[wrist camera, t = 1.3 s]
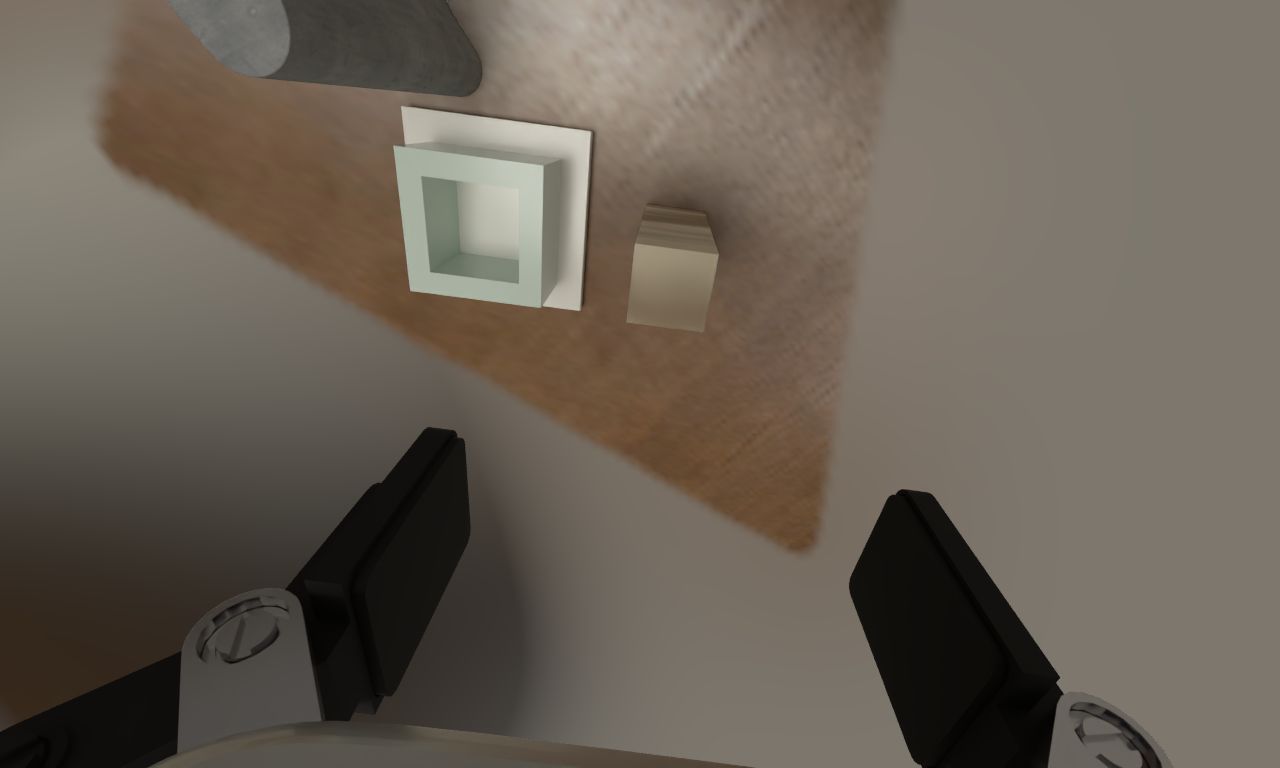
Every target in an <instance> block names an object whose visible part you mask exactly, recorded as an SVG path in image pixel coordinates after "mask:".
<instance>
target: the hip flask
mask: <svg viewBox="0 0 1280 768" xmlns="http://www.w3.org/2000/svg"><path fill="white" fill-rule="evenodd" d="M166 1H167V2H168V3H169V4H170V5H171V7H172V8H173V9H174V10H175V12H176V13H177V14H178V15H179V17H180V18H181V19H182V20H183V21H184V22H185V24H186V25H187V26H188V27H189V28H190V30H191V31H192V32H193V33H194V34H195V35H196V37H197V38H198V39H199V40H200V41H201V43H202V44H203V45H204V46H205V47H206V48H207V50H208V51H209V52H210V53H211V54H212V55H213V56H214V57H215V58H216V59H217V60H218V61H219V62H221V63H222V64H223V65H225V66H226V67H227V68H229V69H231V70H233V71H234V72H236V73H238V74H241V75H244V76H247V77H255V78H265V79H276V80H286V81H297V82H308V83H319V84H329V85H340V86H351V87H361V88H372V89H383V90H394V91H404V92H415V93H426V94H437V95H447V96H458V97H463V96H468V95H470V94H472V93H473V92H474V91H475V90H476V89H477V88H478V86H479V84H480V81H481V78H482V66H481V61H480V58H479V56H478V54H477V52H476V50H475V49H474V47H473V46H472V44H471V42H470V41H469V39H468V38H467V36H466V35H465V33H464V32H463V30H462V28H461V27H460V25H459V23H458V22H457V20H456V18H455V17H454V15H453V13H452V11H451V9H450V8H449V6H448V4H447V2H446V0H166Z"/></svg>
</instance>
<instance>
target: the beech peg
mask: <svg viewBox="0 0 1280 768" xmlns="http://www.w3.org/2000/svg"><path fill="white" fill-rule="evenodd" d="M718 257H719V253H718V250H717V247H716V244H715V241H714V238H713V235H712V232H711V229H710V226H709V223H708V220H707V217H706V214H705V211H697V210H690V209H682V208H675V207H667V206H660V205H652V204H647V205H646V208H645V212H644V215H643V219H642V222H641V225H640V229H639V232H638V235H637V239H636V242H635V249H634V258H633V267H632V276H631V285H630V294H629V303H628V312H627V321H626V322H628V323H636V324H643V325H651V326H658V327H666V328H674V329H681V330H689V331H696V332H704V329H705V324H706V319H707V314H708V308H709V303H710V298H711V293H712V288H713V283H714V278H715V273H716V267H717V262H718Z"/></svg>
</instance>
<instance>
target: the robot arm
mask: <svg viewBox="0 0 1280 768" xmlns="http://www.w3.org/2000/svg"><path fill="white" fill-rule="evenodd" d="M469 536H470V513H469V498H468V483H467V467H466V453H465V441H464V439H462V438H457V433H456V431H454V430H447V429H440V428H432V427H428V428H426V429H425V430H424V431H423V432H422V433H421V435H420V436H419V437H418V438H417V440H416V441H415V442H414V443H413V444H412V446H411V447H410V448H409V449H408V451H407V452H406V453H405V455H404V456H403V457H402V458H401V460H400V461H399V462H398V463H397V465H396V466H395V467H394V468H393V469H392V471H391V472H390V473H389V474H388V476H387V477H386V478H385V480H384V481H383V482H382V483H376V484H374V485H372V486H371V487H370V488H369V489H368V490H367V491H366V492H365V493H364V495H363V496H362V497H361V498H360V499H359V501H358V502H357V503H356V504H355V506H354V507H353V508H352V509H351V510H350V512H349V513H348V514H347V515H346V516H345V518H344V519H343V520H342V521H341V522H340V524H339V525H338V526H337V527H336V529H335V530H334V531H333V532H332V533H331V535H330V536H329V537H328V538H327V539H326V541H325V542H324V543H323V544H322V546H321V547H320V548H319V549H318V550H317V552H316V553H315V554H314V555H313V556H312V558H311V559H310V560H309V561H308V563H307V564H306V565H305V566H304V567H303V568H302V570H301V571H300V572H299V573H298V575H297V576H296V577H295V578H294V580H293V581H292V582H291V583H290V584H289V585H288V587H287V588H286V589H285V590H282V589H277V588H269V589H258V590H255V591H251V592H247V593H243V594H240V595H238V596H236V597H234V598H232V599H229V600H227V601H225V602H223V603H222V604H220V605H219V606H217V607H216V608H214V609H213V610H211V611H210V612H208V613H207V614H206V615H205V616H204V617H203V618H202V619H201V620H200V621H199V622H198V623H197V624H196V625H195V626H194V627H193V629H192V630H191V632H190V633H189V635H188V636H187V638H186V639H185V642H184V646H183V650H182V651H181V652H179V653H176V654H174V655H172V656H170V657H167V658H165V659H163V660H160V661H158V662H156V663H154V664H152V665H149V666H147V667H145V668H142V669H140V670H138V671H135V672H133V673H131V674H129V675H126V676H124V677H122V678H120V679H117V680H115V681H113V682H110V683H108V684H106V685H104V686H101V687H99V688H97V689H95V690H92V691H90V692H88V693H85V694H83V695H81V696H79V697H76V698H74V699H72V700H69V701H67V702H65V703H63V704H61V705H58V706H56V707H54V708H51V709H49V710H47V711H45V712H42V713H40V714H38V715H35V716H33V717H31V718H29V719H26V720H24V721H22V722H20V723H17V724H15V725H13V726H11V727H9V728H7V729H5V730H3V731H1V732H0V768H753V767H745V766H738V765H730V764H722V763H714V762H707V761H699V760H691V759H684V758H676V757H668V756H660V755H652V754H644V753H636V752H629V751H621V750H613V749H605V748H596V747H588V746H580V745H572V744H564V743H556V742H548V741H538V740H531V739H522V738H515V737H506V736H499V735H491V734H482V733H474V732H463V731H455V730H444V729H435V728H426V727H416V726H406V725H397V724H387V723H370V722H350V719H351V717H352V715H353V713H354V712H356V713H364V714H372V715H375V713H376V711H377V709H378V707H379V705H380V703H381V701H382V699H383V697H384V696H392V695H393V694H394V693H395V691H396V690H397V688H398V686H399V684H400V682H401V679H402V678H403V676H404V674H405V672H406V669H407V667H408V665H409V663H410V661H411V659H412V657H413V655H414V653H415V651H416V648H417V646H418V645H419V643H420V641H421V639H422V636H423V634H424V632H425V630H426V628H427V626H428V624H429V622H430V620H431V618H432V616H433V614H434V612H435V609H436V607H437V605H438V603H439V601H440V599H441V597H442V595H443V593H444V591H445V589H446V587H447V585H448V583H449V581H450V579H451V576H452V574H453V572H454V570H455V568H456V566H457V564H458V562H459V560H460V558H461V556H462V554H463V552H464V550H465V548H466V546H467V543H468V540H469ZM849 590H850V595H851V597H852V600H853V603H854V605H855V608H856V611H857V614H858V616H859V619H860V622H861V624H862V626H863V630H864V632H865V635H866V638H867V640H868V643H869V646H870V648H871V651H872V654H873V656H874V659H875V662H876V664H877V667H878V669H879V672H880V675H881V678H882V680H883V682H884V685H885V688H886V691H887V694H888V696H889V699H890V702H891V704H892V707H893V709H894V712H895V715H896V717H897V720H898V723H899V725H900V728H901V731H902V734H903V736H904V739H905V742H906V744H907V747H908V750H909V752H910V754H911V756H912V758H913V760H914V761H915V762H916V763H917V764H919V765H921V766H922V768H1173V766H1172V764H1171V762H1170V761H1169V759H1168V757H1167V756H1166V754H1165V753H1164V750H1163V749H1162V748H1161V747H1160V746H1159V745H1158V744H1157V742H1156V741H1155V740H1154V739H1153V737H1152V736H1151V735H1150V734H1149V733H1148V732H1147V731H1146V730H1145V729H1144V728H1142V727H1141V726H1140V725H1139V724H1138V723H1137V722H1136V721H1135V720H1134V719H1132V718H1131V717H1130V716H1128V715H1127V714H1125V713H1124V712H1122V711H1121V710H1120V709H1118V708H1117V707H1115V706H1113V705H1112V704H1110V703H1108V702H1106V701H1104V700H1102V699H1100V698H1098V697H1095V696H1092V695H1088V694H1085V693H1079V692H1069V693H1067V694H1063V692H1062V691H1061V690H1060V688H1059V686H1058V685H1057V684H1056V682H1057V681H1058V680H1059V679H1060V677H1059V675H1058V674H1057V672H1056V671H1055V670H1054V668H1053V667H1052V665H1051V664H1050V662H1049V661H1048V659H1047V658H1046V657H1045V655H1044V654H1043V652H1042V651H1041V649H1040V648H1039V646H1038V645H1037V644H1036V642H1035V641H1034V639H1033V638H1032V636H1031V635H1030V634H1029V632H1028V631H1027V629H1026V628H1025V626H1024V625H1023V623H1022V622H1021V621H1020V619H1019V618H1018V616H1017V615H1016V613H1015V612H1014V611H1013V609H1012V608H1011V606H1010V605H1009V603H1008V602H1007V601H1006V599H1005V598H1004V596H1003V595H1002V593H1001V592H1000V591H999V589H998V588H997V586H996V585H995V583H994V582H993V580H992V579H991V578H990V576H989V575H988V573H987V572H986V570H985V569H984V567H983V566H982V565H981V563H980V562H979V560H978V559H977V557H976V556H975V555H974V553H973V552H972V550H971V549H970V547H969V546H968V545H967V543H966V542H965V540H964V539H963V537H962V536H961V535H960V533H959V532H958V530H957V529H956V527H955V526H954V524H953V523H952V522H951V520H950V519H949V517H948V516H947V514H946V513H945V512H944V510H943V509H942V507H941V506H940V504H939V503H938V501H937V500H936V499H935V497H934V496H933V495H932V494H930V493H927V492H920V491H913V490H904V489H902V490H899V491H898V492H897V493H896V495H891V496H889V498H888V499H887V501H886V503H885V505H884V508H883V509H882V512H881V514H880V516H879V518H878V520H877V522H876V524H875V526H874V528H873V531H872V533H871V535H870V537H869V539H868V541H867V543H866V545H865V548H864V550H863V552H862V554H861V556H860V558H859V560H858V562H857V564H856V567H855V569H854V571H853V573H852V575H851V577H850V582H849Z"/></svg>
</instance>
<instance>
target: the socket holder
mask: <svg viewBox="0 0 1280 768" xmlns="http://www.w3.org/2000/svg"><path fill="white" fill-rule="evenodd" d="M401 108H402V118H403V127H404V137H405V145H395V146H394V154H395V162H396V171H397V180H398V188H399V197H400V206H401V214H402V223H403V232H404V240H405V249H406V258H407V266H408V275H409V284H410V291H416V292H424V293H431V294H439V295H447V296H454V297H462V298H469V299H477V300H484V301H492V302H500V303H507V304H515V305H522V306H530V307H538V308H541V307H542V306H547V307H555V308H562V309H570V310H577V311H580V310H581V308H582V302H583V286H584V270H585V254H586V238H587V222H588V206H589V190H590V174H591V158H592V142H593V131H589V130H582V129H574V128H567V127H559V126H552V125H544V124H537V123H529V122H522V121H514V120H507V119H500V118H492V117H485V116H477V115H470V114H462V113H455V112H447V111H440V110H432V109H425V108H417V107H410V106H401Z"/></svg>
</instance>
